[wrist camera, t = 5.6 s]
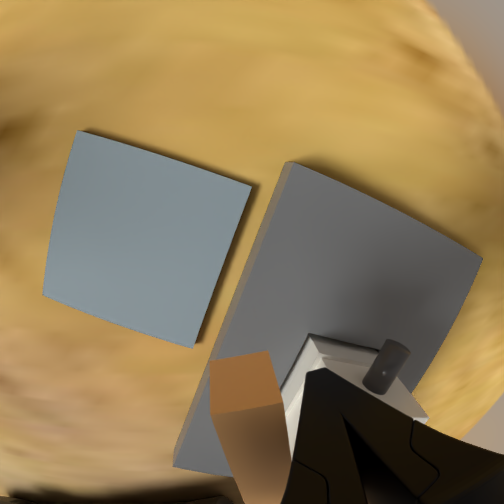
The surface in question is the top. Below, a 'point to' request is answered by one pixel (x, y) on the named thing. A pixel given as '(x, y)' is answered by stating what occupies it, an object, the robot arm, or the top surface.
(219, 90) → the top surface
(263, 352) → the tan wooden bar
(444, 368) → the top surface
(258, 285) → the socket block
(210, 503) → the muzzle brake
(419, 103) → the top surface
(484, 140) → the top surface
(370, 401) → the robot arm
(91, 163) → the mat
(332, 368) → the plug
